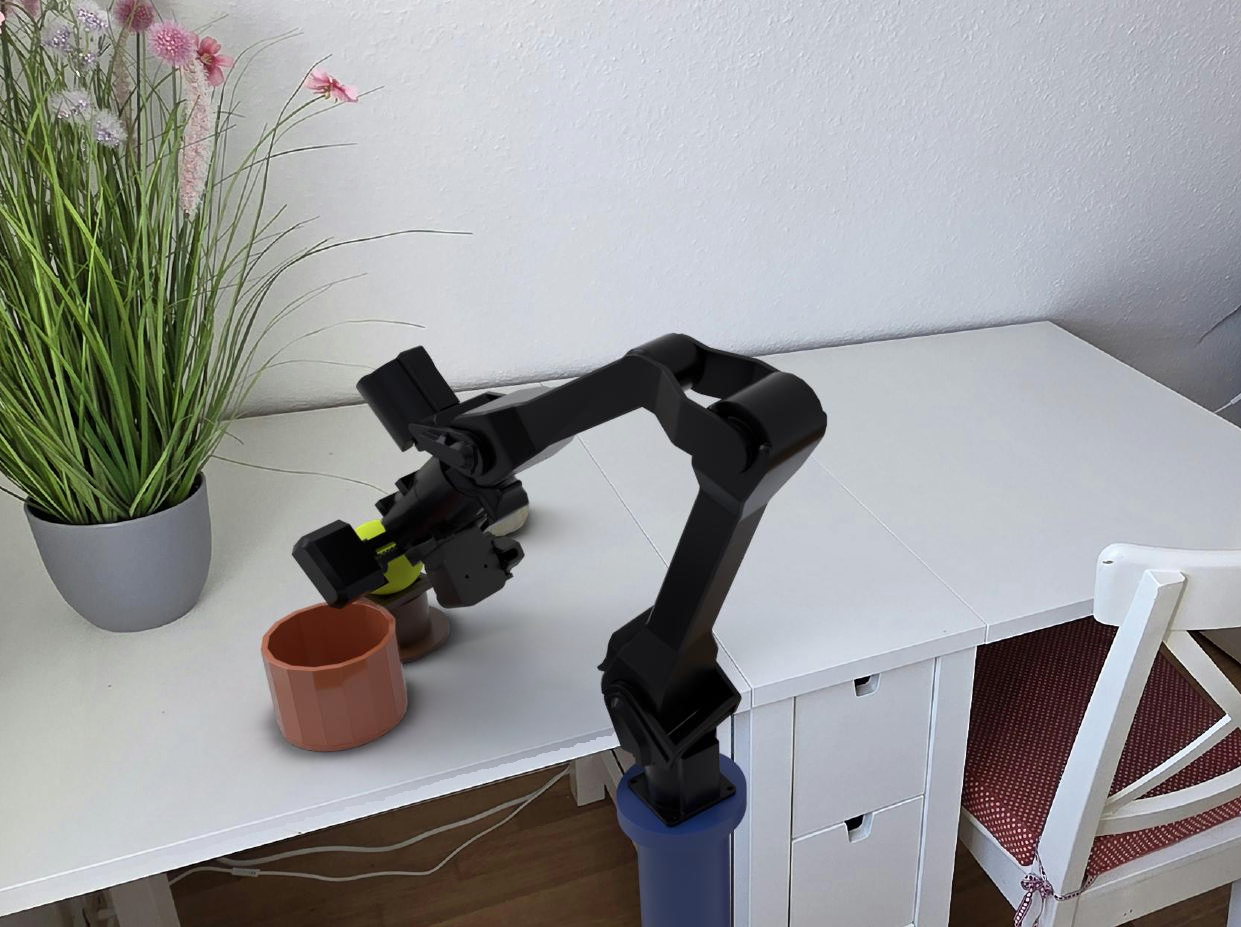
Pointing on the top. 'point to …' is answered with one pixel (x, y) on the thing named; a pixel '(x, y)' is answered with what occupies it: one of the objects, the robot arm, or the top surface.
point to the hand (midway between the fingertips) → (374, 564)
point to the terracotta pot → (335, 675)
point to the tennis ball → (399, 568)
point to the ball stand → (414, 619)
